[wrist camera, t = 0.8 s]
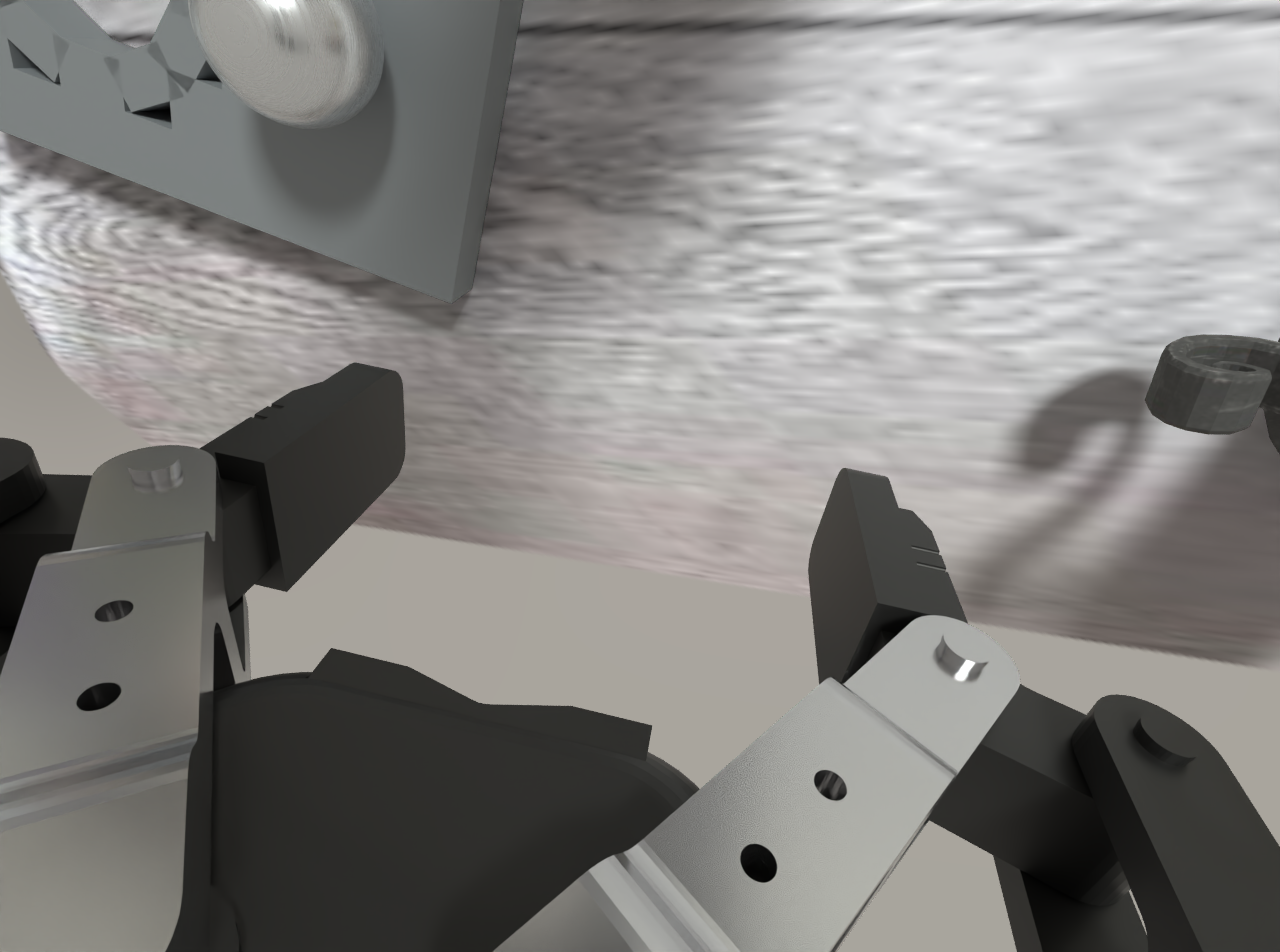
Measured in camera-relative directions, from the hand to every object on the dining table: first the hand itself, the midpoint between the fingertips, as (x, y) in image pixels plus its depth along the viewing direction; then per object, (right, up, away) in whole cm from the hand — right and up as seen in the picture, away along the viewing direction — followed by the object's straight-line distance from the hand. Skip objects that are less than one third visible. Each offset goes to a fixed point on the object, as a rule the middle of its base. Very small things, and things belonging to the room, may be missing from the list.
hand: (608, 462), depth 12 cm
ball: (-12, +15, +11) cm, 22 cm away
